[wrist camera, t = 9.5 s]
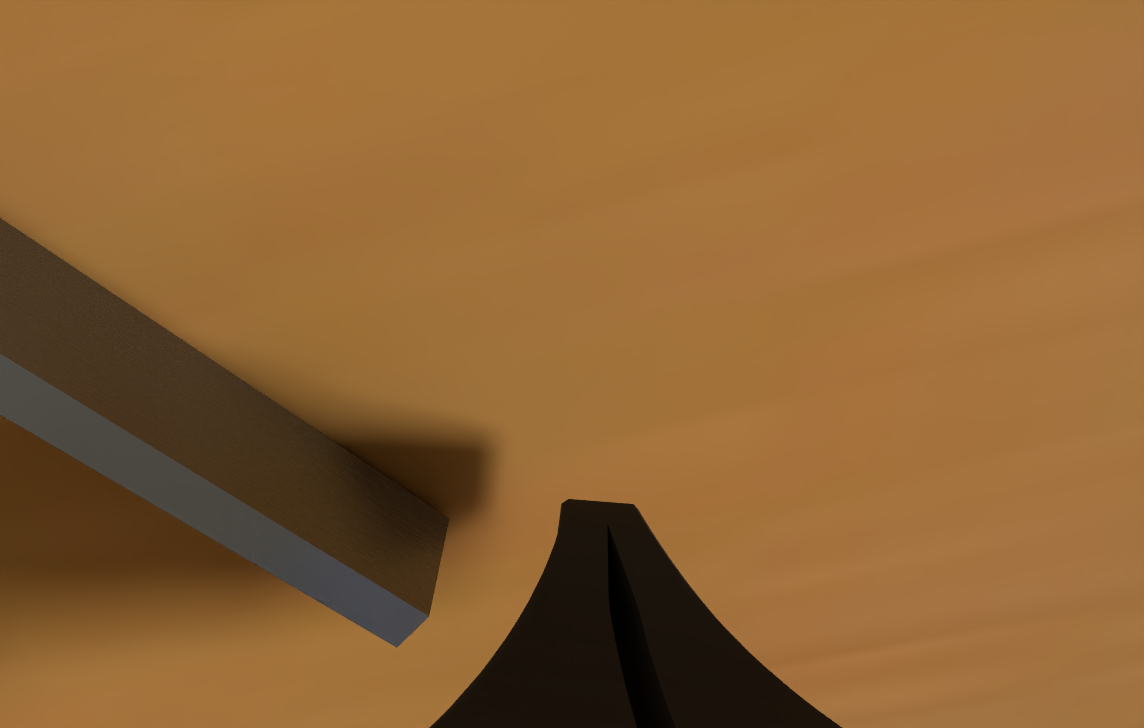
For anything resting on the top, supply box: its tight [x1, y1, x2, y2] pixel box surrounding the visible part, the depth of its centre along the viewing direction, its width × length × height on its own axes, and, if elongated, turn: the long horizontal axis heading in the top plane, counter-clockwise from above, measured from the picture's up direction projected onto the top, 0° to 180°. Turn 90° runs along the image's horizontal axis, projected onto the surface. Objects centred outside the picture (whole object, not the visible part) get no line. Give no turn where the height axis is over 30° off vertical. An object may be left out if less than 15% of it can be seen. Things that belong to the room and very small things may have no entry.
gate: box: [0, 219, 449, 647], centre depth 13 cm, size 12×1×3 cm, turn 48°
